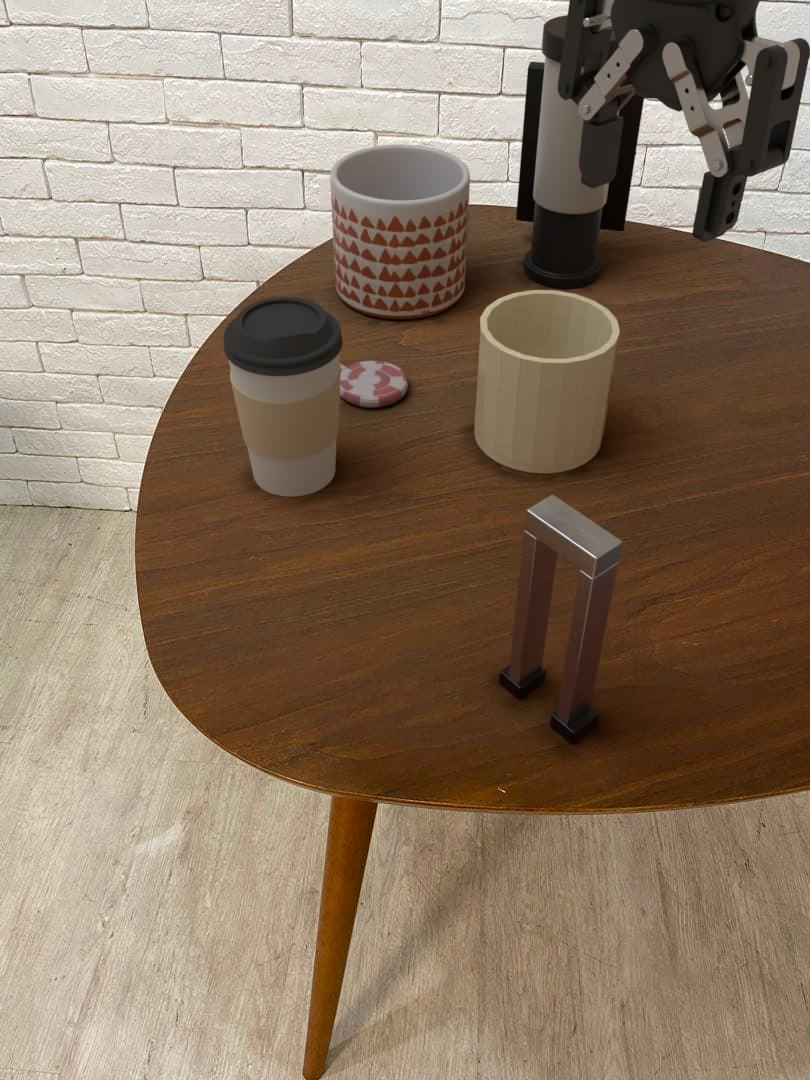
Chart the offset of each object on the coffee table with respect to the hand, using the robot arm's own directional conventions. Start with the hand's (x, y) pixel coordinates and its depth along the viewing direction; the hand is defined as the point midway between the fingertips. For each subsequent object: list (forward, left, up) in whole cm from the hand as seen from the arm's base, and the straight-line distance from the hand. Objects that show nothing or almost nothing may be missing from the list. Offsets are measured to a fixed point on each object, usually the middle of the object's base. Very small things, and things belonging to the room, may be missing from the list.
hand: (650, 208), depth 59 cm
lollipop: (+28, -19, -29) cm, 45 cm away
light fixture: (+13, -47, -29) cm, 57 cm away
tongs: (0, +13, -29) cm, 32 cm away
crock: (+8, -16, -29) cm, 34 cm away
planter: (+28, -36, -29) cm, 54 cm away
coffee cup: (+26, -4, -29) cm, 39 cm away
